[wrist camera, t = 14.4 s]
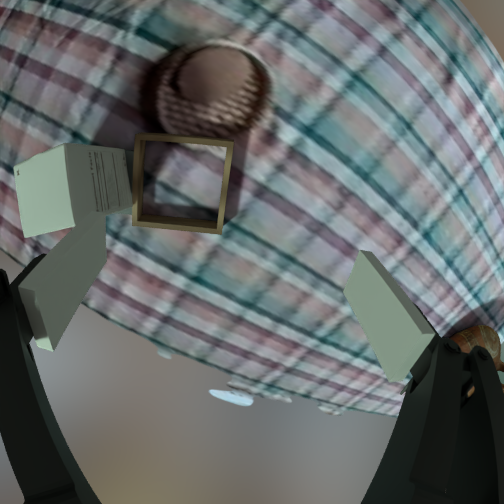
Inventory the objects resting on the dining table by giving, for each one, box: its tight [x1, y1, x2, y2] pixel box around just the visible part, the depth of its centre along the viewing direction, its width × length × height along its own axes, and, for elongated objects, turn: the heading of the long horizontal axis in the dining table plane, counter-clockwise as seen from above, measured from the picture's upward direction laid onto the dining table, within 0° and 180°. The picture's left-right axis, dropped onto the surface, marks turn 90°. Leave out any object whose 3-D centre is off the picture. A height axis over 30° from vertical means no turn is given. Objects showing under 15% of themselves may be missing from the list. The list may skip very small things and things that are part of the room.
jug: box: [449, 325, 504, 397], centre depth 58 cm, size 30×30×25 cm
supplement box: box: [14, 143, 133, 238], centre depth 31 cm, size 9×9×15 cm
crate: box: [132, 132, 234, 235], centre depth 40 cm, size 14×14×3 cm
